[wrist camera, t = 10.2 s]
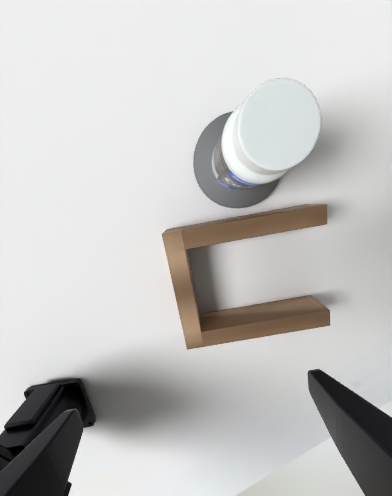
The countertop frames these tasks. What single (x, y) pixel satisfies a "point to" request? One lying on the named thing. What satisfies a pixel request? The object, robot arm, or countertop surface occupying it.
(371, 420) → the robot arm
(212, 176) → the coaster
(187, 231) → the nook
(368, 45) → the countertop surface
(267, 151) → the pill bottle
